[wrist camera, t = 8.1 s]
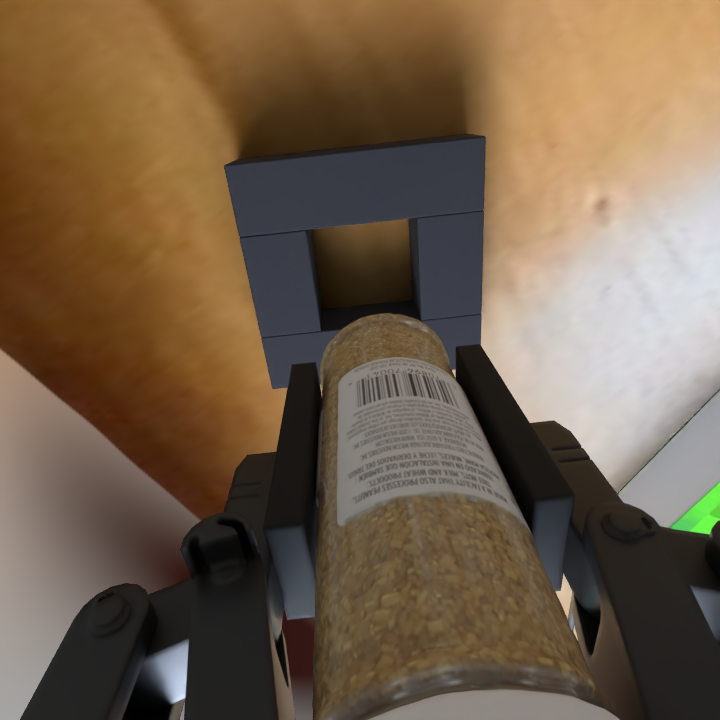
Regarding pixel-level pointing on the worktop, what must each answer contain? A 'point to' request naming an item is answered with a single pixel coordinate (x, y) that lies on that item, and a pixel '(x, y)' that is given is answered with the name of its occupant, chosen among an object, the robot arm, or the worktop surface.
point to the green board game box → (683, 476)
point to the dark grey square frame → (357, 206)
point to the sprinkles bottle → (427, 552)
